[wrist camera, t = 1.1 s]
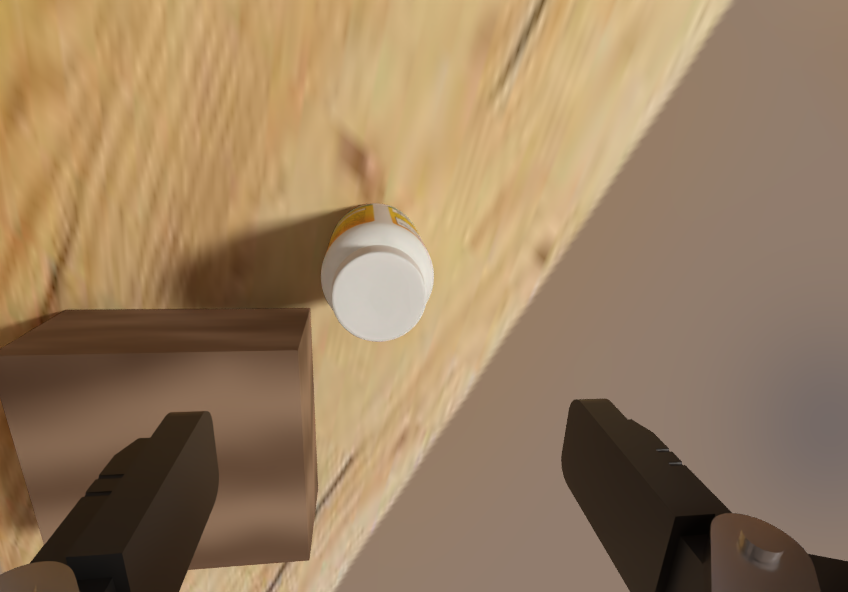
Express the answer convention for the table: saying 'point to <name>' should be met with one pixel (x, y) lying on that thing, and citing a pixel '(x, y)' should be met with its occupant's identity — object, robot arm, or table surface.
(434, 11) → the table surface
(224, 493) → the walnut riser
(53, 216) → the table surface
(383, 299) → the supplement bottle
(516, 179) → the table surface
